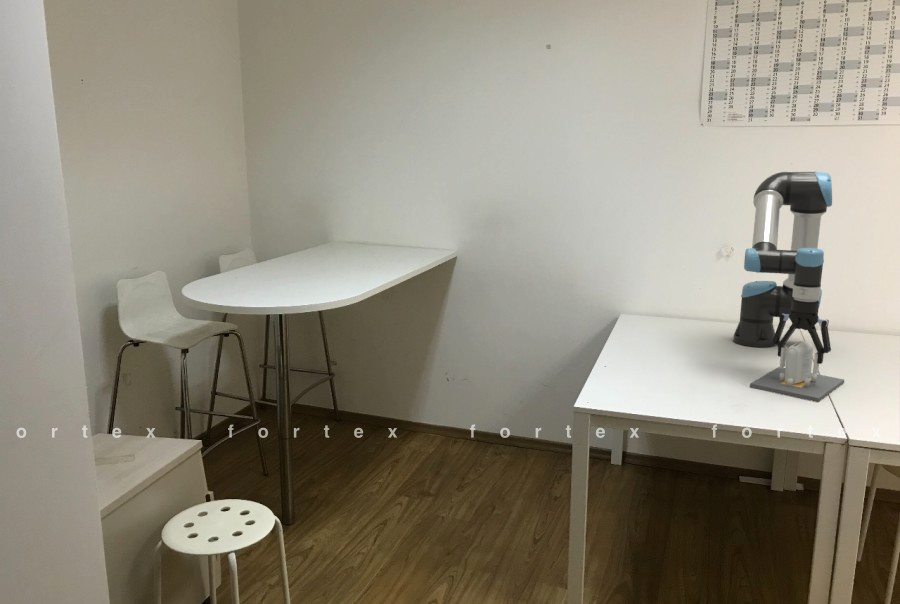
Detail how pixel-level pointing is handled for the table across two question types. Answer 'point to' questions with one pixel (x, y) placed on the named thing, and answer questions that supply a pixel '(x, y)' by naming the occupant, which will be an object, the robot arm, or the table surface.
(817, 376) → the pin tray
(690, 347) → the table surface
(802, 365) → the photo printer
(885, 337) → the table surface
